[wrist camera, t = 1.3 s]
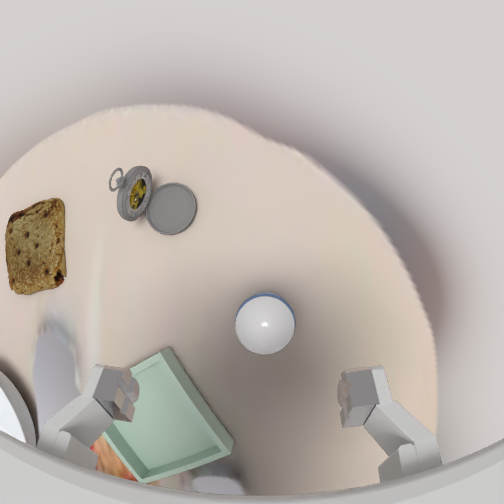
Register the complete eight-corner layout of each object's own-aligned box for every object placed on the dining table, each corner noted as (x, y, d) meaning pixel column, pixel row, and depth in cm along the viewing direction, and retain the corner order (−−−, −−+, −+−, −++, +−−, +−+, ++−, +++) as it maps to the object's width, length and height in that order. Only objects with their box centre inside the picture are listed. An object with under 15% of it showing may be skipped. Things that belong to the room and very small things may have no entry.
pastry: (44, 324, 37) (32, 326, 34) (-4, 259, 39) (-15, 258, 36) (94, 230, 38) (83, 226, 35) (38, 176, 40) (27, 171, 37)
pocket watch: (202, 226, 37) (178, 204, 27) (141, 245, 37) (101, 231, 27) (188, 168, 38) (164, 131, 28) (131, 188, 38) (94, 160, 28)
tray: (234, 440, 33) (231, 453, 30) (149, 472, 33) (141, 484, 29) (169, 346, 35) (159, 352, 32) (91, 390, 35) (78, 396, 31)
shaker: (296, 319, 35) (308, 335, 23) (259, 341, 34) (254, 368, 23) (273, 283, 35) (275, 281, 23) (237, 306, 35) (220, 315, 23)
